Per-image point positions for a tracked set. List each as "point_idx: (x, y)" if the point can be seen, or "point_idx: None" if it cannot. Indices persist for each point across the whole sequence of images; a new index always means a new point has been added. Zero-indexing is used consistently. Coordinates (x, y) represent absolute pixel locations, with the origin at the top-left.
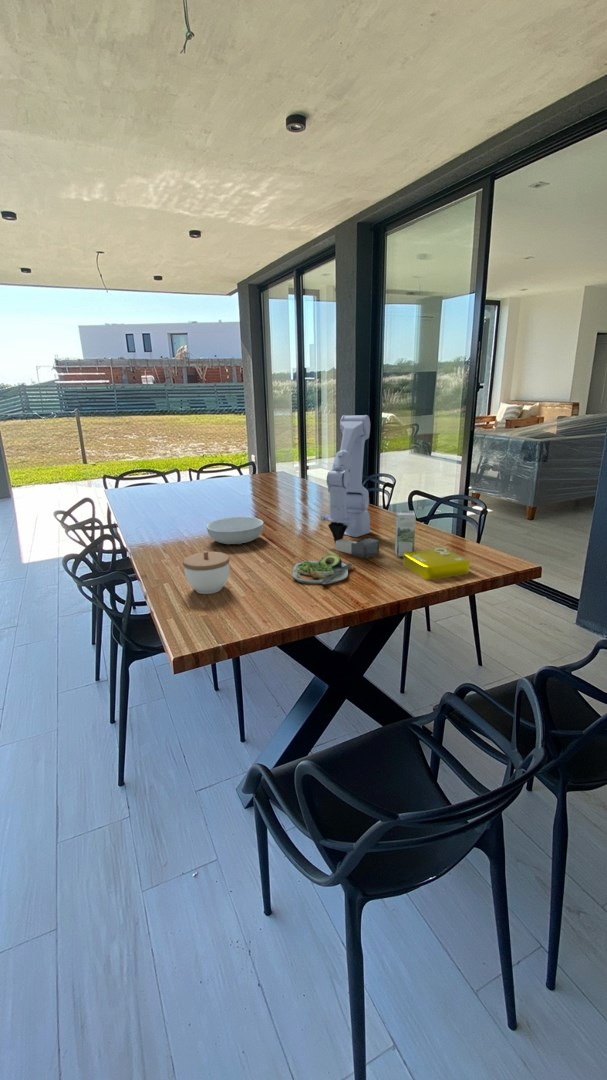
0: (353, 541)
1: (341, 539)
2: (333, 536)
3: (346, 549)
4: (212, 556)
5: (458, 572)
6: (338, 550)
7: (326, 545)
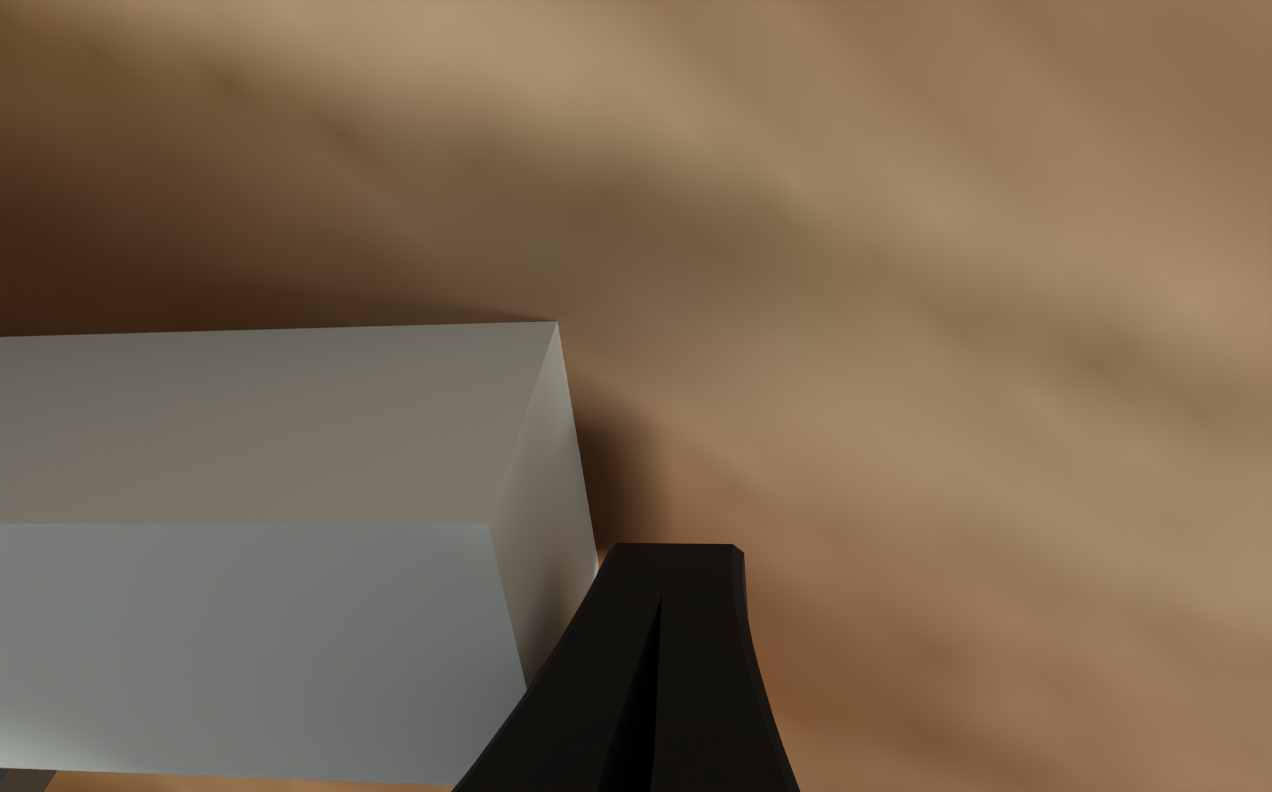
0: (92, 770)
1: None
2: (748, 723)
3: (74, 391)
4: None
5: None
6: (435, 326)
7: (1136, 450)
